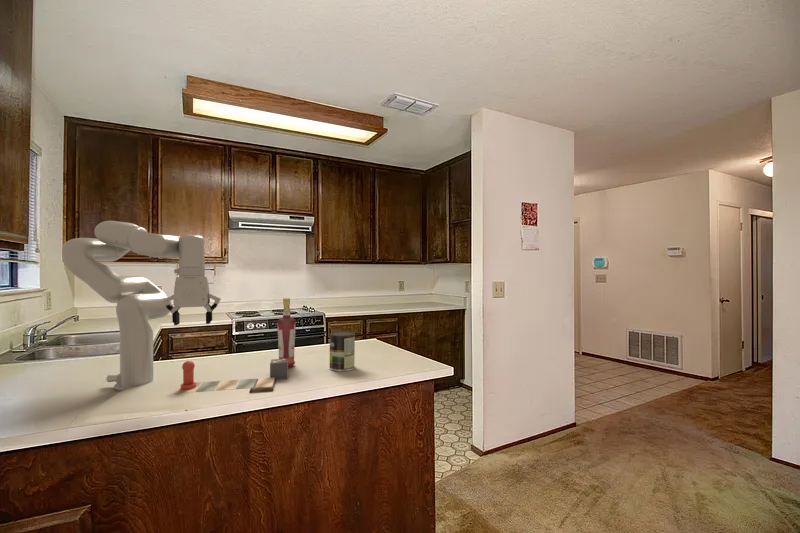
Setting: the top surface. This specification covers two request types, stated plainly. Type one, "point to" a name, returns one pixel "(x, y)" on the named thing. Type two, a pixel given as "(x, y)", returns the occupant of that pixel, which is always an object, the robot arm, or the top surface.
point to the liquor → (286, 334)
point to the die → (279, 368)
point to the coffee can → (342, 351)
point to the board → (254, 384)
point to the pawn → (188, 376)
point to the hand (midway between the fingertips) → (192, 324)
